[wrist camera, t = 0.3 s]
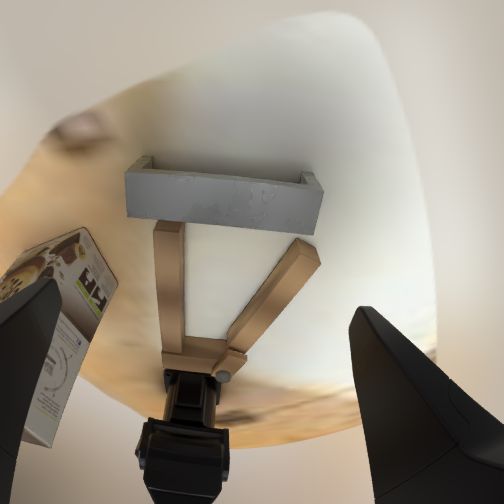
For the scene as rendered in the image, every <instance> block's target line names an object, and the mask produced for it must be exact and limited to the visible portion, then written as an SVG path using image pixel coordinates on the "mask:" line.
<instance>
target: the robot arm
mask: <svg viewBox="0 0 504 504" xmlns="http://www.w3.org/2000/svg"><path fill="white" fill-rule="evenodd" d="M61 308H62V297H61V293H60V290H59V287H58V284H57V281H56V279H54V278H51V277H42V278H40V279H39V280H37V281H35V282H34V283H32V284H30V285H29V286H27V287H25V288H24V289H22V290H20V291H19V292H17V293H15V294H14V295H12V296H11V297H9V298H7V299H6V300H4V301H3V302H1V303H0V504H9V503H10V495H11V488H12V482H13V477H14V471H15V466H16V459H17V456H18V451H19V447H20V442H21V438H22V434H23V430H24V426H25V423H26V419H27V415H28V412H29V408H30V405H31V402H32V398H33V395H34V392H35V389H36V386H37V383H38V380H39V377H40V374H41V371H42V368H43V365H44V362H45V360H46V357H47V354H48V351H49V348H50V345H51V342H52V338H53V335H54V331H55V328H56V324H57V321H58V318H59V314H60V311H61ZM349 341H350V350H351V360H352V370H353V378H354V383H355V388H356V393H357V398H358V403H359V408H360V413H361V418H362V424H363V428H364V434H365V440H366V446H367V452H368V458H369V464H370V471H371V476H372V484H373V492H374V498H375V504H504V424H502V423H501V422H500V421H499V420H498V419H496V418H495V417H494V416H493V415H491V414H490V413H489V412H488V411H487V410H485V409H484V408H483V407H481V406H480V405H479V404H478V403H477V402H476V401H474V400H473V399H472V398H471V397H470V396H469V395H468V394H467V393H465V392H464V391H463V390H462V389H461V388H460V387H459V386H458V385H457V384H456V383H454V382H453V381H452V379H449V377H448V376H447V375H446V374H445V373H444V372H443V371H442V370H441V369H440V368H439V367H438V366H437V365H436V364H435V363H433V362H432V361H431V360H430V359H429V358H428V357H427V356H426V355H425V354H424V353H423V352H422V351H421V350H419V349H418V348H417V347H416V346H415V345H414V344H413V343H412V342H411V341H410V340H409V339H407V338H406V337H405V336H404V335H403V334H402V333H401V332H400V331H399V330H398V329H396V328H395V327H394V326H393V325H392V324H391V323H390V322H389V321H388V320H386V319H385V318H384V317H383V316H382V315H381V314H380V313H379V312H377V311H376V310H375V309H374V308H373V307H371V306H359V307H358V308H357V309H356V311H355V314H354V316H353V318H352V321H351V323H350V326H349ZM164 380H165V387H166V393H167V398H166V404H165V410H164V416H163V420H158V419H154V418H151V417H149V418H148V422H145V423H144V425H143V429H142V434H141V437H140V440H139V443H138V445H137V448H136V450H135V455H136V456H137V458H138V459H139V466H140V469H141V470H144V476H143V480H144V483H145V485H146V487H147V489H148V492H149V493H150V495H151V498H152V500H153V502H154V504H212V503H213V502H214V501H215V499H216V498H217V497H218V495H219V494H220V492H221V490H222V482H226V481H227V479H228V474H229V464H230V453H229V429H225V428H224V429H218V428H214V426H215V410H216V405H218V404H219V398H220V388H221V382H218V381H217V380H216V379H215V377H214V376H211V374H201V373H192V372H183V371H175V370H167V369H166V370H164Z"/></svg>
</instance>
